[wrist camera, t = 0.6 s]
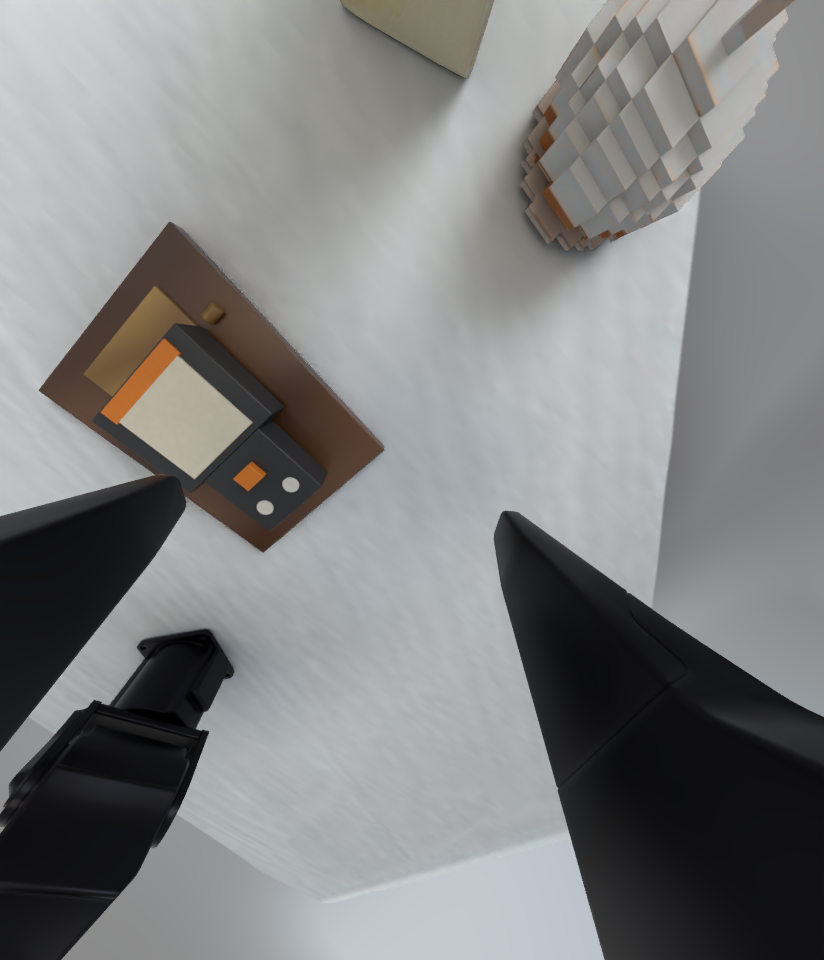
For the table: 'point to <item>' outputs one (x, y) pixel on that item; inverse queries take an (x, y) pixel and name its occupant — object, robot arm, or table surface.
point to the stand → (244, 334)
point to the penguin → (211, 427)
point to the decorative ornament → (645, 113)
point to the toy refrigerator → (431, 27)
